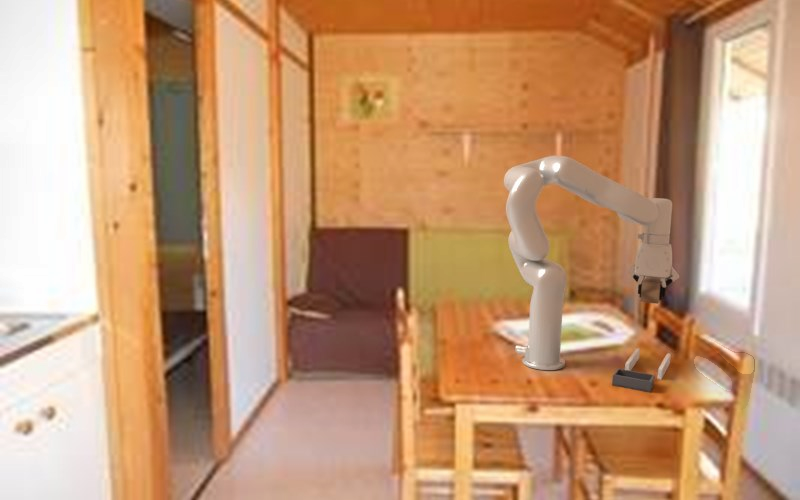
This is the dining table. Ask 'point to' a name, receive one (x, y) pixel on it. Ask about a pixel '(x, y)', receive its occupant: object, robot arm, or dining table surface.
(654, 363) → the dining table surface
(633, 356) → the channel
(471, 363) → the dining table surface
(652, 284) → the walnut block
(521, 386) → the dining table surface
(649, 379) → the bin
